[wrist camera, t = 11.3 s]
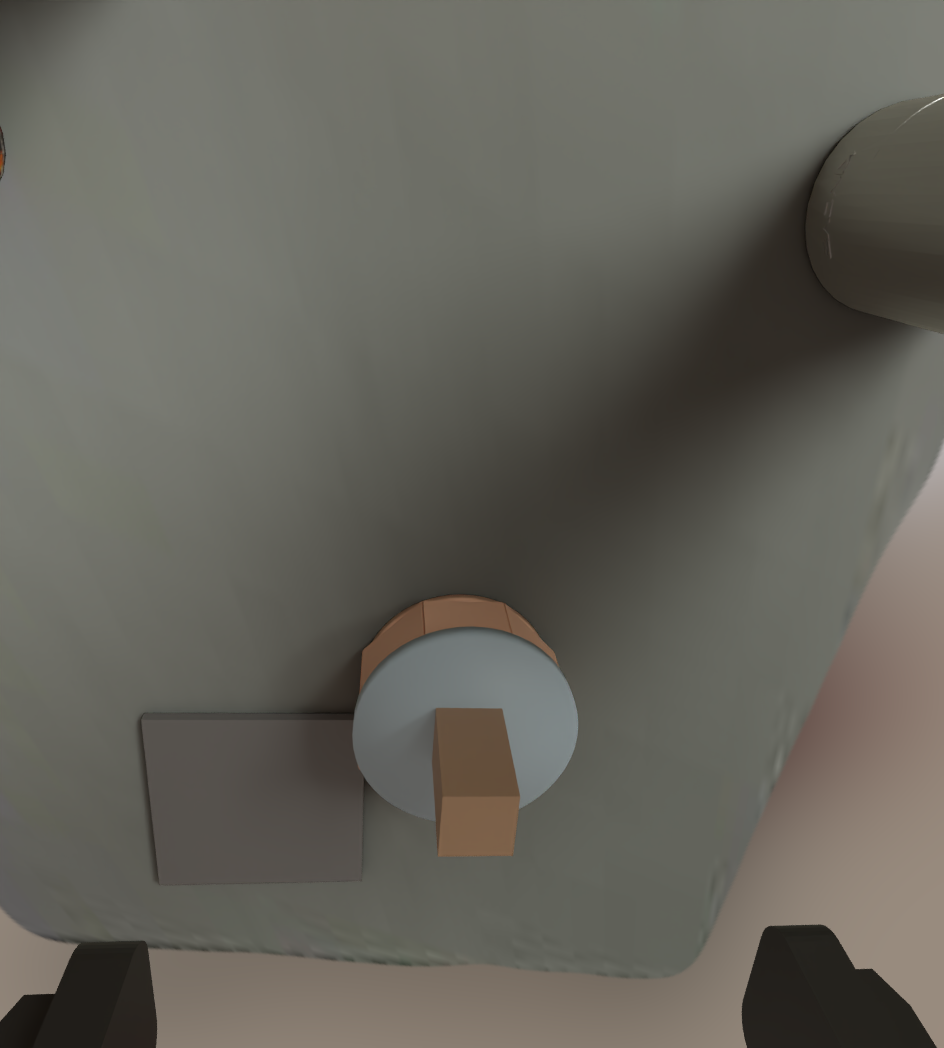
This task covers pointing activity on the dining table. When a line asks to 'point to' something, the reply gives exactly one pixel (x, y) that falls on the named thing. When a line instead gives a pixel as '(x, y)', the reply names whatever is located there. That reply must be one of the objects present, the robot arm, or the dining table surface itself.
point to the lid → (465, 733)
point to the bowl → (445, 625)
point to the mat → (254, 797)
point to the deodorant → (2, 154)
